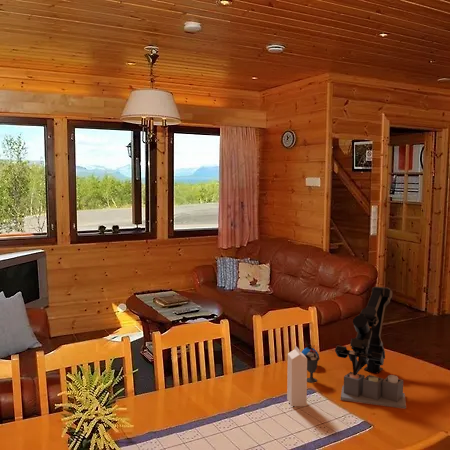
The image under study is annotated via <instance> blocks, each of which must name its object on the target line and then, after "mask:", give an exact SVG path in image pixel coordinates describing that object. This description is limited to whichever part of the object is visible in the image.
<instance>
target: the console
mask: <svg viewBox="0 0 450 450" xmlns="http://www.w3.org/2000/svg"><path fill="white" fill-rule="evenodd" d="M352 373H353V371H349V372H348V373H346V374H345V375H344V376H343V385H342V387H341V391H340V392H341V393H340V401H343V402H344V401H345V402H353V403H360V404H368V405H375V406H382V407H383V406H384V407H390V408H397V409H407V404H406V403H407V401H406V394H405V392H404V379H401V378H398V383H397V384H395V383H391V382H388V376H387V377H385V378H383V377H379V376H376V375H372V374H368V375H367V376H365V375H364V374H360V373H357V374H358V375H359V378H358V379H355V378H351V377H350V374H352ZM371 376H372V377H377V378H378V382H373V381H369V380H368V378H369V377H371Z"/></svg>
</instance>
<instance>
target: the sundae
mask: <svg viewBox="0 0 450 450" xmlns="http://www.w3.org/2000/svg"><path fill="white" fill-rule="evenodd" d="M312 348H314V351H313V350H310V351H309V352H308V353H307V355H305V356H306V358H307V373H308V372H309V377H307V383H311V384H314V383H317V382H318V379H316V378H315V377H314V373H315V372H316V371H317V368H318V362H319V361H320V356H319V357H318V356H317V354H316V353H315V352H316V351H317V350H316V348H315V345H313V346H312ZM315 350H316V351H315Z"/></svg>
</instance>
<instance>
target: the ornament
mask: <svg viewBox="0 0 450 450" xmlns="http://www.w3.org/2000/svg"><path fill="white" fill-rule="evenodd" d="M314 349H315V347H314V348H313V346H312V345H311V344H310V343H309V344H308V345H307V347H305V348H304V349H302V350H301V352H302V353H303V354H304V355H307V353H308V352H309V351H310V350H313V351H314ZM315 351H316V352H315V353H316V354H317V356H318V357H319V358H320V354H319V353H318V351H317V350H316V349H315Z"/></svg>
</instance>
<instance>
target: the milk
mask: <svg viewBox="0 0 450 450" xmlns="http://www.w3.org/2000/svg"><path fill="white" fill-rule="evenodd" d="M286 373H287V377H286V378H287V381H286V382H287V383H286V384H287V385H286V389H287V391H286V401H287V400H288V401H289V402H288V401H287V402H288V404H289V403H290V404H289V405H290V407H291V406H300V407H307V404H308V403H307V400H308V399H307V398H308V396H307V395H308V393H307V392H308V388H307V387H308V386H307V385H308V382H307V378H308V377H307V376H308V370H307V358H306V356H305V355H304V354H303V353H302V351H301V350H300V349H299V347H298V346H296V345H295V346H294V349H293V350H291V351H289V352H288V353H287V371H286Z"/></svg>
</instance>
